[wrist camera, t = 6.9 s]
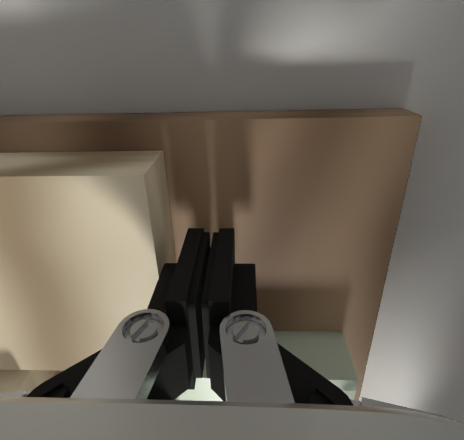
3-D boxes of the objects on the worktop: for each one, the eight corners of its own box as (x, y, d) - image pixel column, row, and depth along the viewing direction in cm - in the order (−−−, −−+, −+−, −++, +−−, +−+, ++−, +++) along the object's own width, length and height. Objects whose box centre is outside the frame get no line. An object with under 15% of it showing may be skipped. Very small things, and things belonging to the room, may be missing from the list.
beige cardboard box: (163, 150, 12) (143, 175, 10) (183, 325, 15) (173, 372, 13) (-34, 153, 12) (-97, 177, 10) (32, 323, 16) (-3, 369, 13)
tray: (341, 331, 15) (358, 380, 13) (324, 435, 19) (335, 487, 17) (139, 329, 16) (121, 376, 13) (159, 431, 19) (147, 482, 17)
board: (403, 108, 12) (506, 150, 7) (341, 420, 20) (371, 537, 16) (-176, 118, 13) (-423, 162, 8) (-14, 412, 21) (-90, 520, 17)
